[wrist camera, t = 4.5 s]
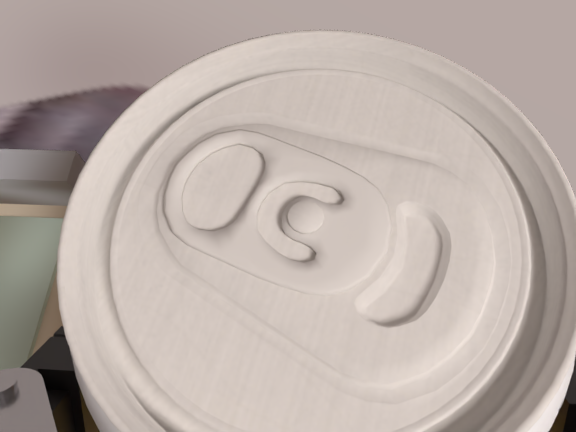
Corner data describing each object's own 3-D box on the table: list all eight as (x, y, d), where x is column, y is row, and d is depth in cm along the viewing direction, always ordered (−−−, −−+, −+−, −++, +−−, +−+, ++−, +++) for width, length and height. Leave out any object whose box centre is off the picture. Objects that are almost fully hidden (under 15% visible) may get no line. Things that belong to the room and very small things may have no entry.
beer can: (362, 528, 16) (548, 787, 3) (205, 439, 18) (-119, 357, 5) (424, 360, 19) (683, 95, 5) (281, 293, 20) (209, -42, 7)
